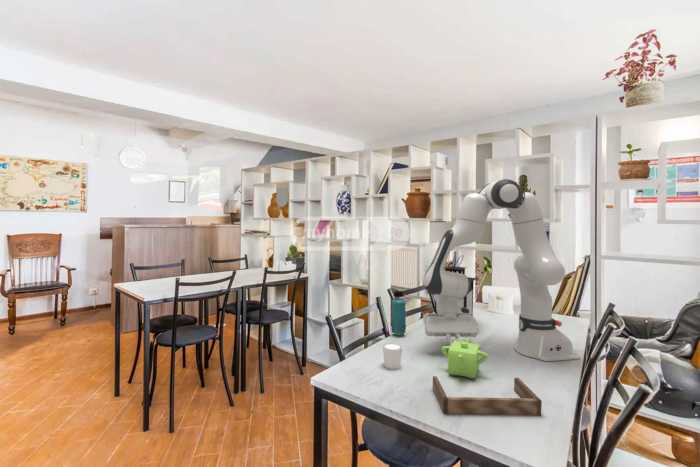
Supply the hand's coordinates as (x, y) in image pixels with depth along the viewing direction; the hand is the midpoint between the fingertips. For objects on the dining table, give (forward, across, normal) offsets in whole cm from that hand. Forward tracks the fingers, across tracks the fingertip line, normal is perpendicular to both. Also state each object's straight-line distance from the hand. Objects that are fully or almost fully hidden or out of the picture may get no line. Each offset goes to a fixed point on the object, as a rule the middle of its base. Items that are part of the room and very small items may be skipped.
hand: (454, 346), depth 136 cm
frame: (+25, 0, -18) cm, 31 cm away
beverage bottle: (-15, -18, +22) cm, 32 cm away
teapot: (+12, 0, -5) cm, 13 cm away
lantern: (-26, +11, +33) cm, 43 cm away
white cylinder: (+8, -24, -1) cm, 25 cm away
